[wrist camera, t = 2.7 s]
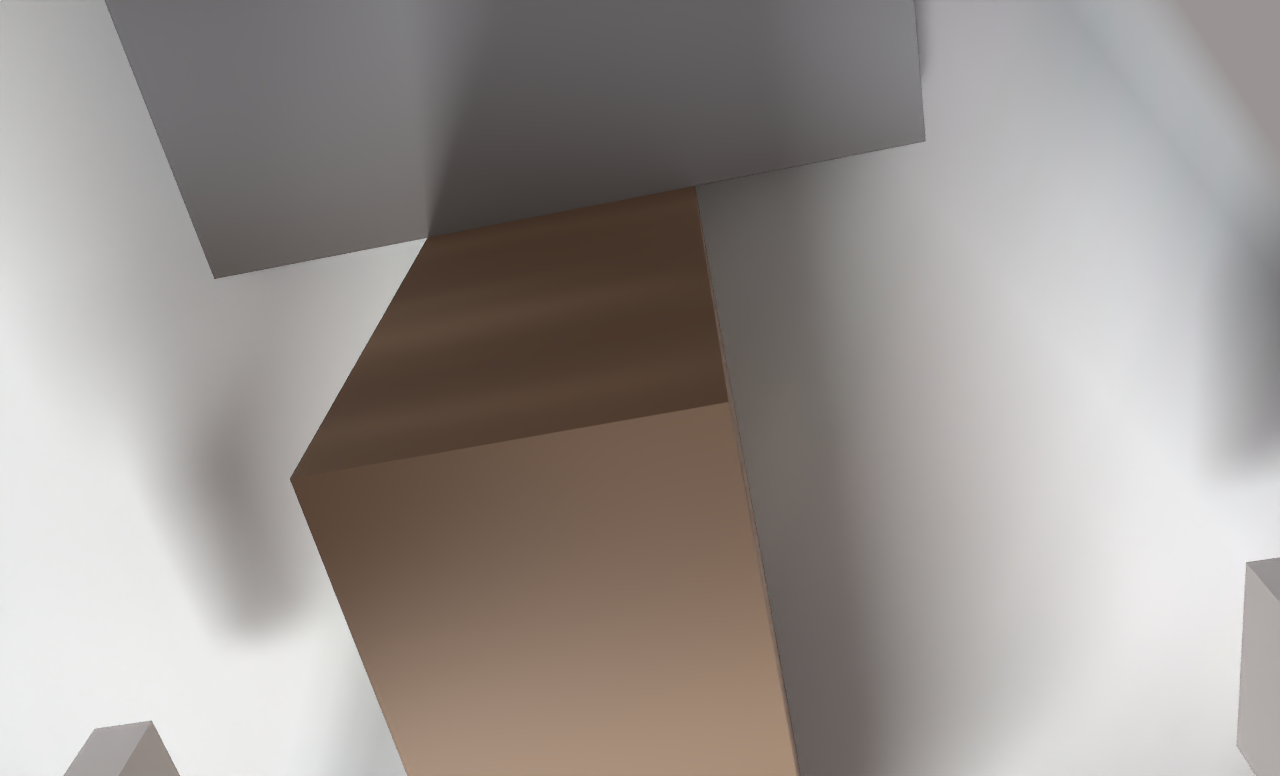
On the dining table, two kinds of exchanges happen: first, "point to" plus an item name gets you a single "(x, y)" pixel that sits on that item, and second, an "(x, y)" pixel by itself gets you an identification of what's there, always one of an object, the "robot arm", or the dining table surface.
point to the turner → (529, 338)
